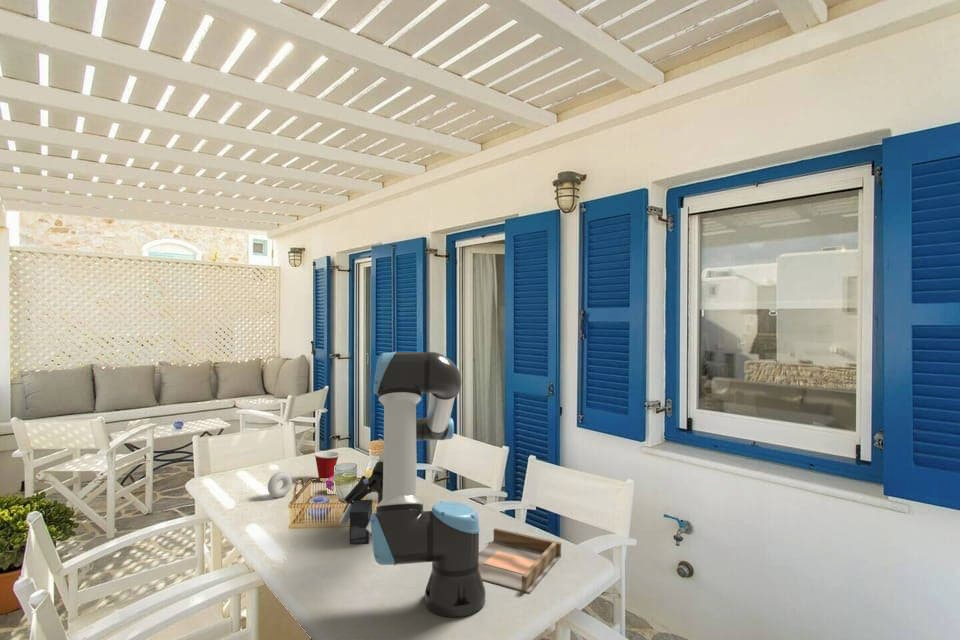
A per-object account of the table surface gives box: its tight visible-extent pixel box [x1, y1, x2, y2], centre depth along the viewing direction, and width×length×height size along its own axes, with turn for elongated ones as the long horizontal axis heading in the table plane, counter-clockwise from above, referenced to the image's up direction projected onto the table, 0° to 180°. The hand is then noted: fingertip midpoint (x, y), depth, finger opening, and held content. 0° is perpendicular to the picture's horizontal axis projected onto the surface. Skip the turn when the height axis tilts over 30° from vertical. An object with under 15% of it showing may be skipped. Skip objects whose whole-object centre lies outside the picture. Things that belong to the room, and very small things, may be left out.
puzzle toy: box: [325, 476, 335, 491], centre depth 205 cm, size 6×6×6 cm
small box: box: [348, 499, 373, 545], centre depth 162 cm, size 11×6×10 cm, turn 6°
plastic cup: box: [313, 450, 340, 479], centre depth 221 cm, size 11×11×12 cm
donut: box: [267, 471, 293, 499], centre depth 199 cm, size 10×3×10 cm, turn 143°
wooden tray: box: [479, 527, 562, 594], centre depth 144 cm, size 24×22×4 cm
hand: (355, 527), depth 159 cm, fingers closed on small box, 10 cm apart
